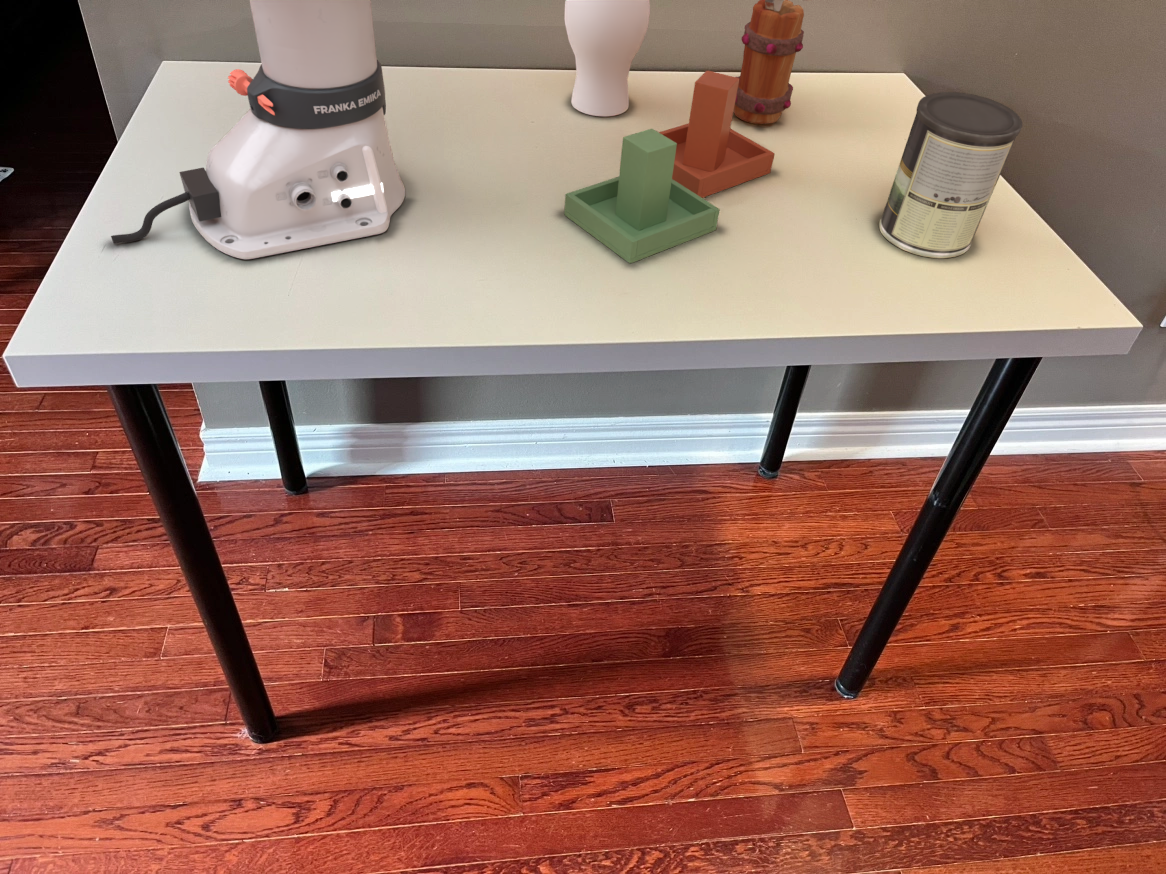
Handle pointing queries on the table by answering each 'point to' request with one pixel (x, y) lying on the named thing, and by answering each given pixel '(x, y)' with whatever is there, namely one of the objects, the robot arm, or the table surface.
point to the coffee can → (948, 173)
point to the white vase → (604, 51)
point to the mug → (768, 62)
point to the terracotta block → (710, 120)
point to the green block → (645, 178)
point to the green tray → (682, 224)
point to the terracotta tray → (735, 169)
